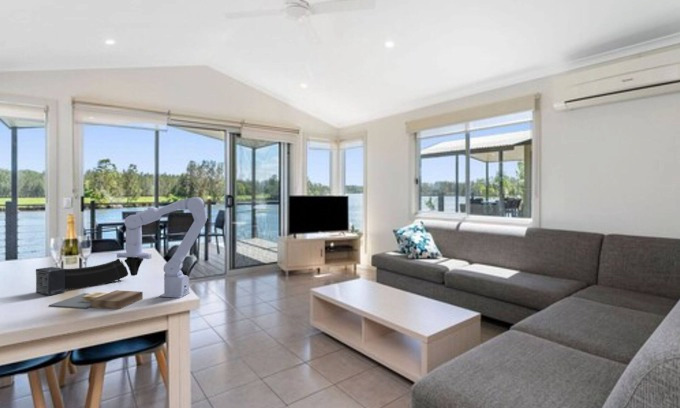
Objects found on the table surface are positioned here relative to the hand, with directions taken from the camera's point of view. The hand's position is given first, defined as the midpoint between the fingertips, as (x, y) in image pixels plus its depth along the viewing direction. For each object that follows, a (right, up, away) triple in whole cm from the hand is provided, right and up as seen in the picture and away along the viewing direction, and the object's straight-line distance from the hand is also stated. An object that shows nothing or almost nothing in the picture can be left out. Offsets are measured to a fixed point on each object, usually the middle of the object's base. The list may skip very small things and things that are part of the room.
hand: (134, 275), depth 146 cm
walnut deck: (-2, -10, -8) cm, 12 cm away
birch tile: (-12, -9, -5) cm, 16 cm away
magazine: (-30, -9, +17) cm, 35 cm away
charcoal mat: (-16, -9, -6) cm, 20 cm away
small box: (-39, -9, +5) cm, 40 cm away
